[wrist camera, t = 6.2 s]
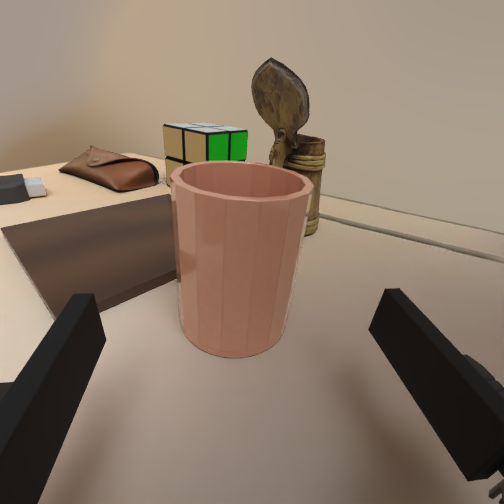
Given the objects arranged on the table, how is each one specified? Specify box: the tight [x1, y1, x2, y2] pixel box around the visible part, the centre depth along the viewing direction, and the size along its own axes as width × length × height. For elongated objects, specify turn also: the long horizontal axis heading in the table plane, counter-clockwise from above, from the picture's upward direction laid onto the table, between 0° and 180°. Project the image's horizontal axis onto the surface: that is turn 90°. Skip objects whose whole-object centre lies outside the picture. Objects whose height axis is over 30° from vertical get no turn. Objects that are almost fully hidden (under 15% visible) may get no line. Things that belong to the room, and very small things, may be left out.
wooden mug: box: [251, 58, 326, 236], centre depth 32 cm, size 9×14×18 cm, turn 147°
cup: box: [170, 161, 314, 358], centre depth 19 cm, size 8×8×11 cm
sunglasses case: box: [59, 146, 159, 191], centre depth 49 cm, size 18×7×7 cm, turn 60°
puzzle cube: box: [163, 123, 248, 187], centre depth 47 cm, size 10×10×10 cm
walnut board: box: [1, 194, 177, 320], centre depth 30 cm, size 18×20×1 cm
